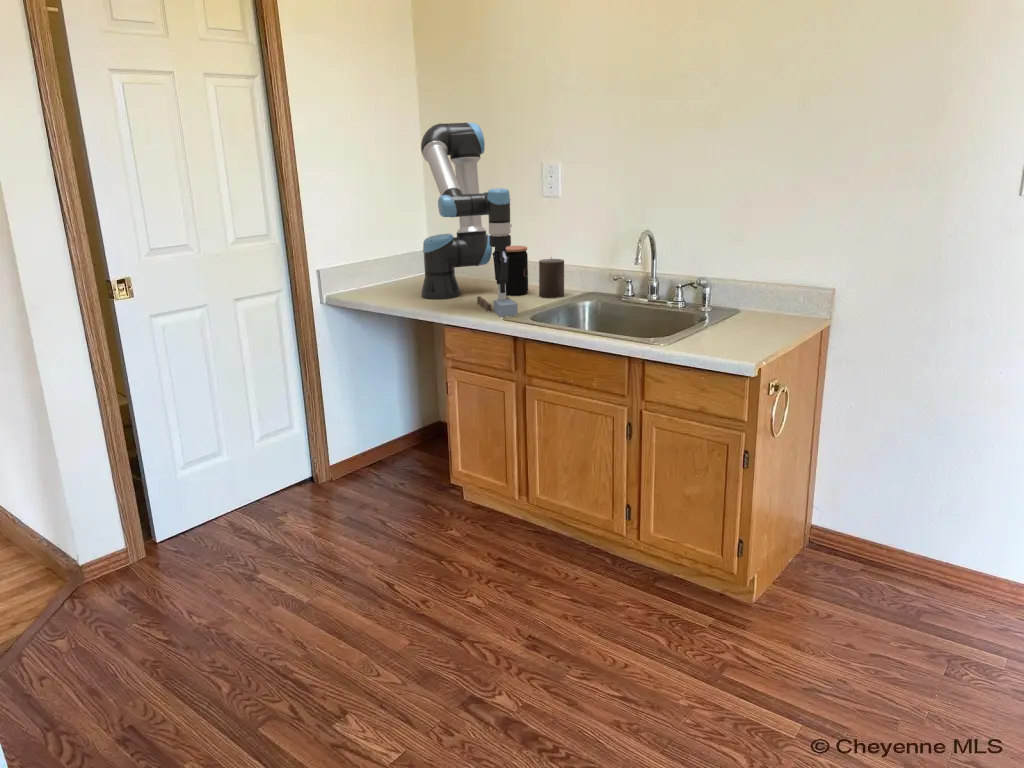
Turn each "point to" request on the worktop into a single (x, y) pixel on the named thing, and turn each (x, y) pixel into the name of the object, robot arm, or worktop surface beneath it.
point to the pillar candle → (551, 278)
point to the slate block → (505, 307)
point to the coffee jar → (517, 270)
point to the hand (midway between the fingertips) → (502, 301)
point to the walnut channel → (485, 303)
